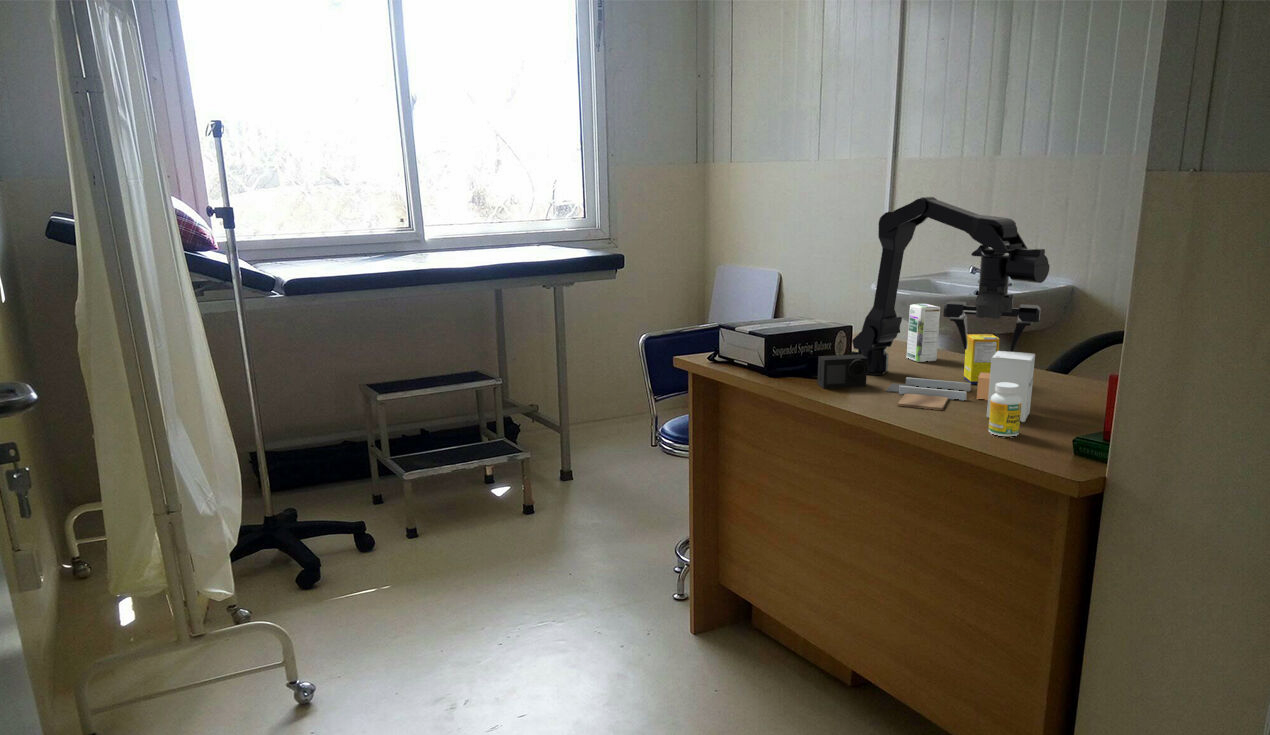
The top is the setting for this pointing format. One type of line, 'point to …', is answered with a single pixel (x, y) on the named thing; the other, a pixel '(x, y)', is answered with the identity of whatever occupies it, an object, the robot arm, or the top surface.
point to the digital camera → (842, 371)
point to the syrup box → (923, 332)
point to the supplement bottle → (1005, 410)
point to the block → (983, 386)
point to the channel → (936, 384)
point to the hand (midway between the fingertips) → (988, 350)
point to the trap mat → (896, 387)
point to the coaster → (923, 401)
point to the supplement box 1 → (979, 355)
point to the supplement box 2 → (1013, 376)
